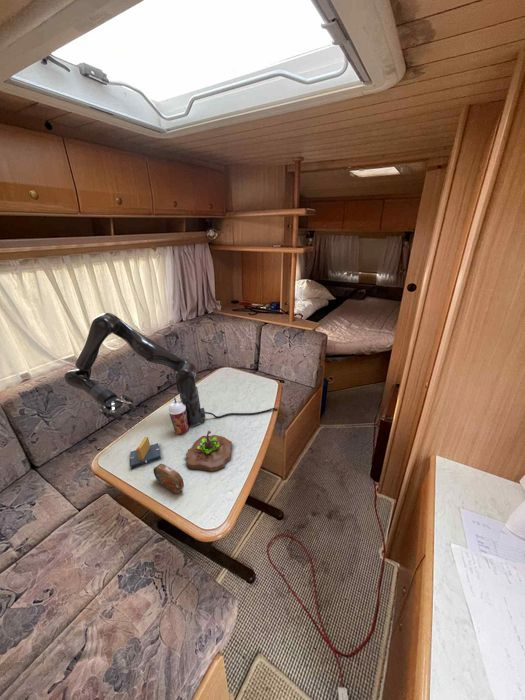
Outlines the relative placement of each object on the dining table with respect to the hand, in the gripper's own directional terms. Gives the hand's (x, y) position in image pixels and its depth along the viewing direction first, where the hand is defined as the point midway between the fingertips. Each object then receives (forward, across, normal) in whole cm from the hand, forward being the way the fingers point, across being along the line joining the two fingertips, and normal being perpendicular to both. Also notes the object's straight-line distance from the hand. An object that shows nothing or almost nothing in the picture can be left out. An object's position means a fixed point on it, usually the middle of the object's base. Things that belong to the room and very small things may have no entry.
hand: (128, 414), depth 125 cm
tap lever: (+17, -4, +9) cm, 19 cm away
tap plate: (+17, -4, +11) cm, 21 cm away
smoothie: (+21, +16, +6) cm, 27 cm away
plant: (+41, +7, -2) cm, 42 cm away
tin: (+36, -13, +3) cm, 38 cm away
